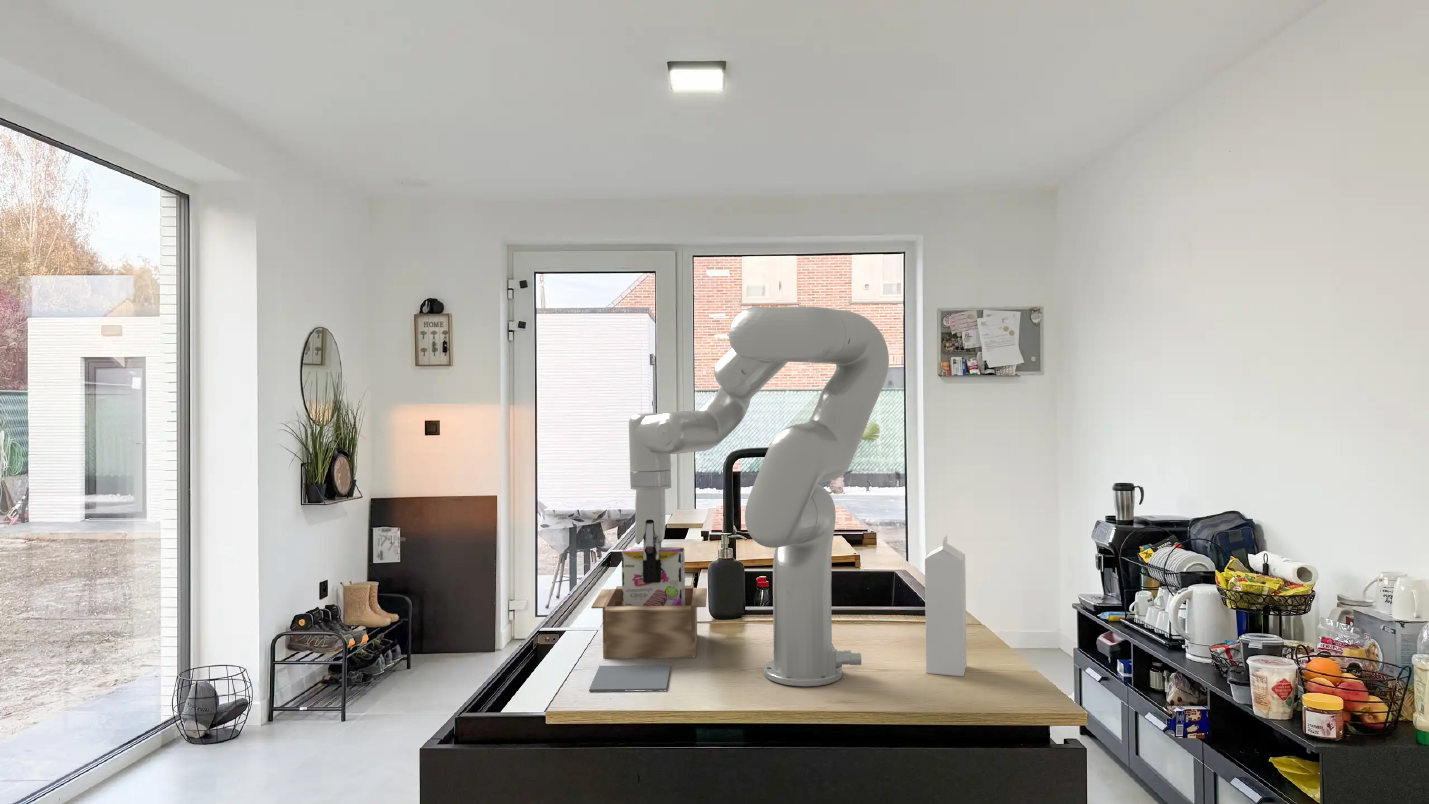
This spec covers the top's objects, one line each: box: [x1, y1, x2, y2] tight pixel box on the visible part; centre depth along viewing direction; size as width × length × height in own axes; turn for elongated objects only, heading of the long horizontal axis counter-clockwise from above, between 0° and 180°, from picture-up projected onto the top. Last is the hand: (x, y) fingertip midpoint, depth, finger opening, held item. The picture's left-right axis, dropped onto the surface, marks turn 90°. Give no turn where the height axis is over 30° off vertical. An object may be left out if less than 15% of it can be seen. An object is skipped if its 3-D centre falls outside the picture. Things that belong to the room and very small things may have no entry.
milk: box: [924, 534, 967, 677], centre depth 146 cm, size 6×6×22 cm
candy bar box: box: [621, 546, 686, 606], centre depth 162 cm, size 11×5×16 cm, turn 84°
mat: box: [588, 664, 671, 693], centre depth 143 cm, size 12×12×1 cm
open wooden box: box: [591, 584, 708, 660], centre depth 162 cm, size 20×19×9 cm
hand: (653, 578), depth 162 cm, fingers closed on candy bar box, 5 cm apart
